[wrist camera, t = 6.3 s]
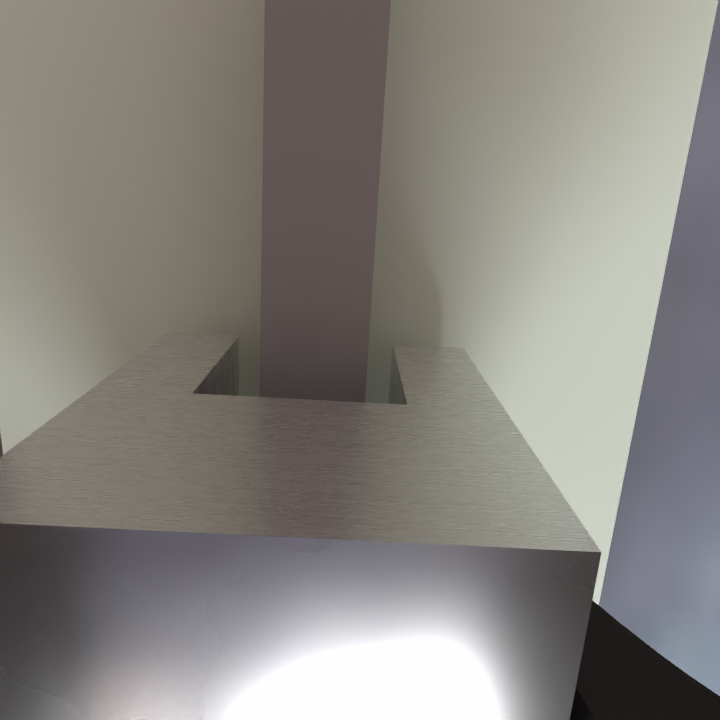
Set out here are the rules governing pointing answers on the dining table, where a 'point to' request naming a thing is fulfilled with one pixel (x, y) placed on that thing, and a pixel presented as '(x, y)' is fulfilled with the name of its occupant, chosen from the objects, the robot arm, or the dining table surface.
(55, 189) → the rail plate
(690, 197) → the dining table surface
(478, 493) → the block
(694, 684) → the robot arm
